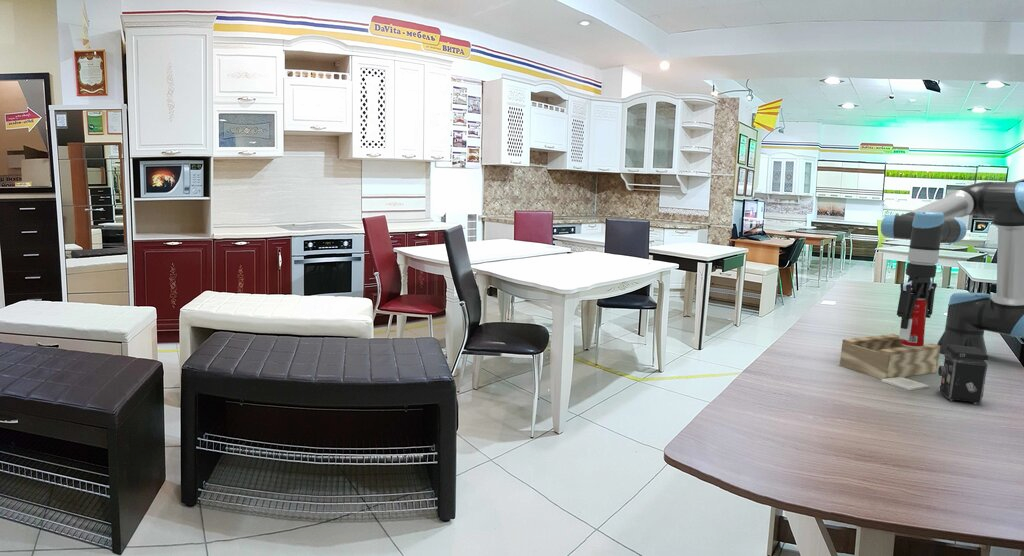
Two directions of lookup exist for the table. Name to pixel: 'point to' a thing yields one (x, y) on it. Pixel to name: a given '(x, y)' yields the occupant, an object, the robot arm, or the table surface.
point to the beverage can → (917, 325)
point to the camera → (963, 373)
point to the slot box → (888, 357)
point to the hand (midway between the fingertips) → (911, 338)
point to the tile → (905, 383)
